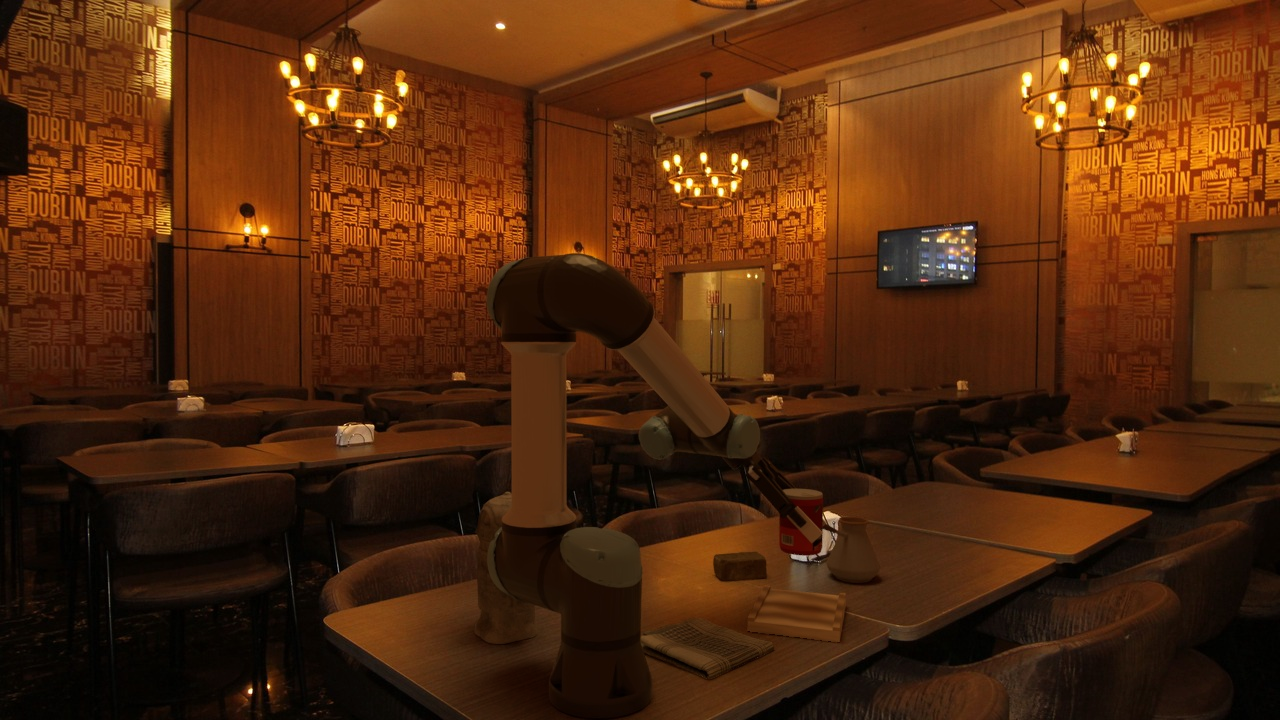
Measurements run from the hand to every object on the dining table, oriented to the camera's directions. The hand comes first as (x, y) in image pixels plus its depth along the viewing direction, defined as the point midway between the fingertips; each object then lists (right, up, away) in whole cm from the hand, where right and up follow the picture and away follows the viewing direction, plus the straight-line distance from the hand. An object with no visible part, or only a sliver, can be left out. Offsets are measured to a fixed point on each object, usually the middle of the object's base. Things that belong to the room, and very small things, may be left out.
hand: (819, 532), depth 146 cm
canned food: (-3, -4, +1) cm, 5 cm away
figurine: (-58, -16, -7) cm, 60 cm away
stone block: (-11, -16, +28) cm, 34 cm away
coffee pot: (+10, -16, +24) cm, 31 cm away
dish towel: (-23, -17, -14) cm, 32 cm away
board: (-4, -16, +1) cm, 17 cm away
